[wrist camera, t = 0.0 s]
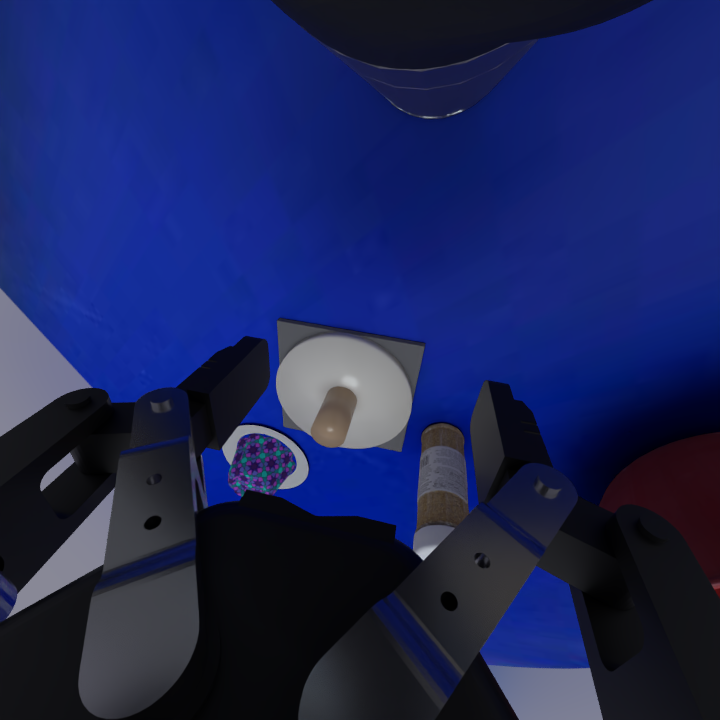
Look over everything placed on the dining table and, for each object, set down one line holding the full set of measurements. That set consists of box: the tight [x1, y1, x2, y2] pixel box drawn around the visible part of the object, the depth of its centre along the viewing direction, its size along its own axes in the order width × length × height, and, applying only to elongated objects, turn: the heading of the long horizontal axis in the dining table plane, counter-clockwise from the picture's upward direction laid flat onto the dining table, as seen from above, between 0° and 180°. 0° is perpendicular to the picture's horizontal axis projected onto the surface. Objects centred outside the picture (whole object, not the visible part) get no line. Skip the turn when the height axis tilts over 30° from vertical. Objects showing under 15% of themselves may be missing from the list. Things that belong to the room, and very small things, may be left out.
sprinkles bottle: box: [413, 423, 469, 560], centre depth 30 cm, size 5×5×13 cm
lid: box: [276, 332, 412, 449], centre depth 32 cm, size 14×14×6 cm
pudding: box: [222, 425, 309, 496], centre depth 42 cm, size 12×12×5 cm
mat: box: [277, 318, 425, 452], centre depth 35 cm, size 14×14×1 cm
